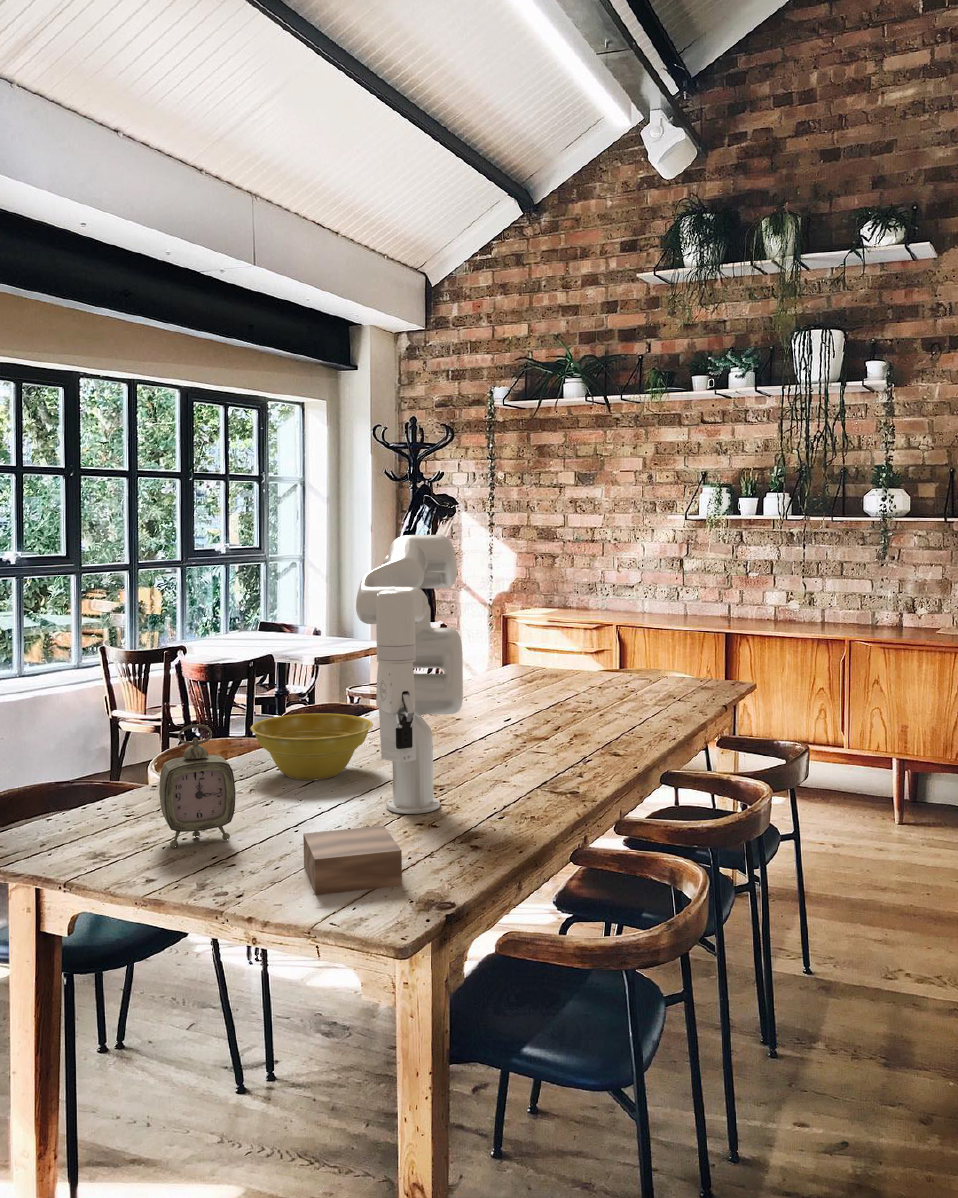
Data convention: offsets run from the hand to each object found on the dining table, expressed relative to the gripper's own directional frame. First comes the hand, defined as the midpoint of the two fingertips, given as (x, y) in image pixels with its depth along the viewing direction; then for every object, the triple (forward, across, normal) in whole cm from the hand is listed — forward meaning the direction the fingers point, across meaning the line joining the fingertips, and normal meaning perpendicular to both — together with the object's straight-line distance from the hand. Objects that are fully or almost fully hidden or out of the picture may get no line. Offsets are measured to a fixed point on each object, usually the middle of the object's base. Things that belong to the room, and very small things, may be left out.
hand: (397, 743), depth 198 cm
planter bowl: (+24, -77, +4) cm, 81 cm away
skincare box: (+3, 0, 0) cm, 3 cm away
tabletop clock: (+24, -32, -34) cm, 52 cm away
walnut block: (+24, +2, -10) cm, 27 cm away
